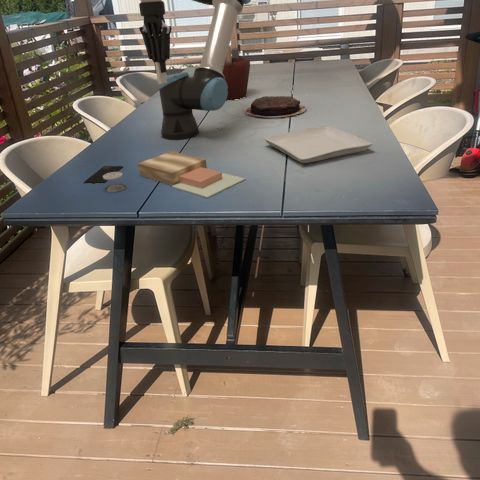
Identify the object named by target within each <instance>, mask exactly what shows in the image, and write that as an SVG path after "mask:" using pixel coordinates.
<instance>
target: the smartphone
mask: <svg viewBox="0 0 480 480" xmlns="http://www.w3.org/2000/svg"><path fill="white" fill-rule="evenodd" d="M123 168H124V166H123V165H122V166H120V165H119V166H118V165H113V166H112V165H108V166H107V165H103V166H102V167H101V168H99V169H98V170H97V171H96V172H95V173H93V174H92V175H91V176H89V177H88V178H87V179H86V180H84V181H83V184H85V183H92V184H95V183H104V184H105V183H107V182H108V181H109V180H105V179H103V175H105V174H107V173H111V172H120V171H121V170H122V169H123Z"/></svg>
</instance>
